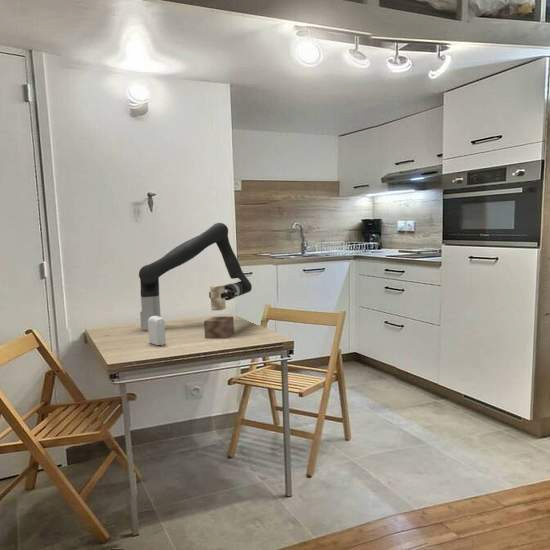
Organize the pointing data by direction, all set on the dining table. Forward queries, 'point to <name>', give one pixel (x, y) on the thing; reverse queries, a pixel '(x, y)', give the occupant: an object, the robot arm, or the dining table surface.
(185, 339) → the dining table surface
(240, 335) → the dining table surface
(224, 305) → the maple block
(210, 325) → the walnut block
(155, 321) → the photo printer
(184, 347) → the dining table surface
